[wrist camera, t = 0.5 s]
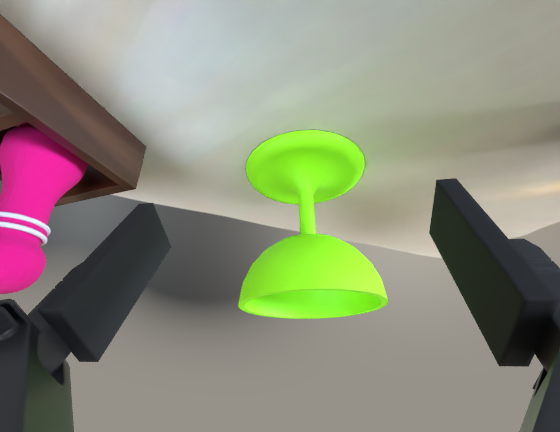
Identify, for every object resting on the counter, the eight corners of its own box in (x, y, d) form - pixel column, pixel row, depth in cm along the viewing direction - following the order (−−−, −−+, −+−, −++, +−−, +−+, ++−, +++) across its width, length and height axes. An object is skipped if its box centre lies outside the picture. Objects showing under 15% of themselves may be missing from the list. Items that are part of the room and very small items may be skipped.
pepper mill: (80, 153, 38) (18, 321, 29) (9, 118, 33) (-95, 310, 24) (110, 128, 34) (50, 313, 25) (35, 85, 29) (-75, 297, 20)
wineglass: (313, 210, 52) (321, 322, 43) (225, 181, 44) (214, 311, 36) (391, 160, 40) (421, 301, 32) (289, 109, 32) (294, 278, 24)
